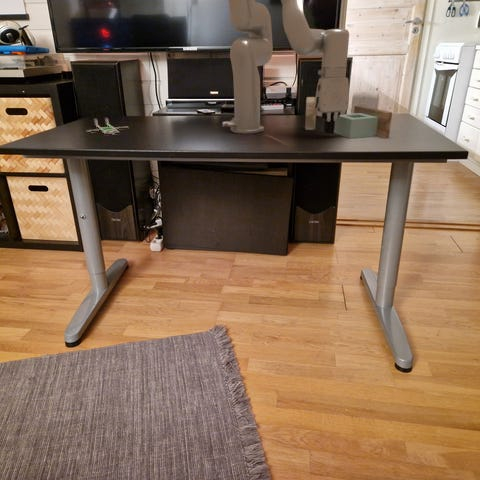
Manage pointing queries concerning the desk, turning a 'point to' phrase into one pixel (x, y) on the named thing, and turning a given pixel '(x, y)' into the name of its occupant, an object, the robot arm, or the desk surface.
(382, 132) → the board
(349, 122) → the block
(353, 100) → the photo printer
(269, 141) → the desk surface
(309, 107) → the dowel
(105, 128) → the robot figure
